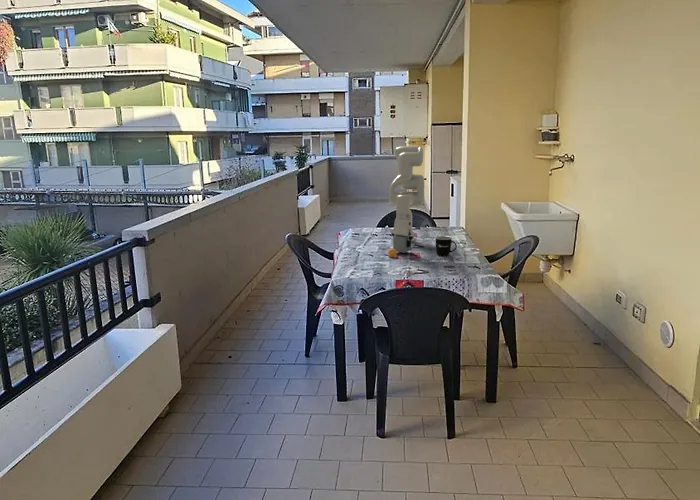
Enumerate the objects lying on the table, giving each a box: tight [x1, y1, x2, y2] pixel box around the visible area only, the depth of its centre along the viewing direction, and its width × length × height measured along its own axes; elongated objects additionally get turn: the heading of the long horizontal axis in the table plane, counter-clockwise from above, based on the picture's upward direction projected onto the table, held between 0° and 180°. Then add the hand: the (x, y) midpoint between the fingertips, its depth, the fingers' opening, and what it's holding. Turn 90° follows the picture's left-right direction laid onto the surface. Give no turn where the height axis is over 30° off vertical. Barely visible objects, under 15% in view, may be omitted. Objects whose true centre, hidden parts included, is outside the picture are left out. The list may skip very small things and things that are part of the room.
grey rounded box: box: [392, 235, 412, 254], centre depth 292 cm, size 8×8×9 cm
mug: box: [435, 235, 458, 257], centre depth 286 cm, size 12×9×10 cm
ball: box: [387, 247, 398, 258], centre depth 284 cm, size 5×5×5 cm
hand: (402, 245), depth 292 cm, fingers closed on grey rounded box, 7 cm apart
